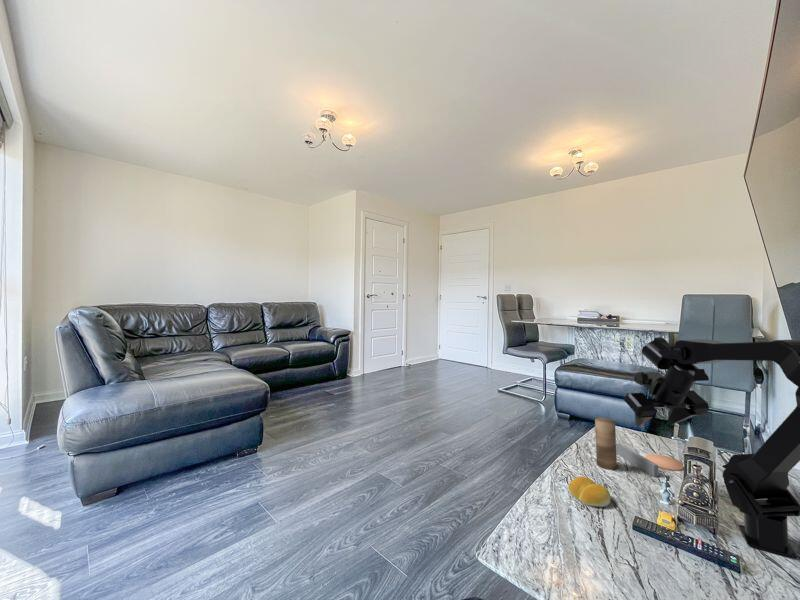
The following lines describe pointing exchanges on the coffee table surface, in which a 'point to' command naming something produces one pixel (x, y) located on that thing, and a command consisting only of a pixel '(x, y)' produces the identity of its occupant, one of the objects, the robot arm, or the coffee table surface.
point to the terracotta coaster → (665, 462)
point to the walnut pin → (605, 443)
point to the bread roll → (589, 492)
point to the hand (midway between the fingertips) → (653, 424)
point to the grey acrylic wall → (637, 460)
